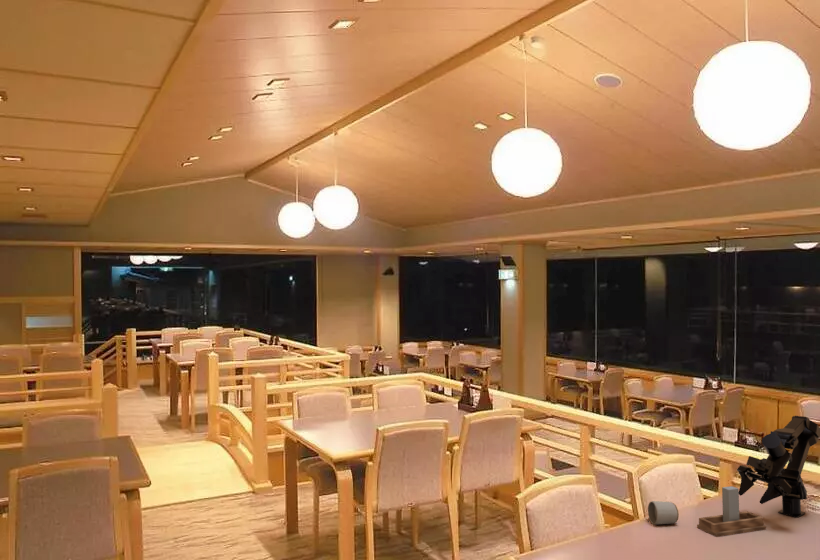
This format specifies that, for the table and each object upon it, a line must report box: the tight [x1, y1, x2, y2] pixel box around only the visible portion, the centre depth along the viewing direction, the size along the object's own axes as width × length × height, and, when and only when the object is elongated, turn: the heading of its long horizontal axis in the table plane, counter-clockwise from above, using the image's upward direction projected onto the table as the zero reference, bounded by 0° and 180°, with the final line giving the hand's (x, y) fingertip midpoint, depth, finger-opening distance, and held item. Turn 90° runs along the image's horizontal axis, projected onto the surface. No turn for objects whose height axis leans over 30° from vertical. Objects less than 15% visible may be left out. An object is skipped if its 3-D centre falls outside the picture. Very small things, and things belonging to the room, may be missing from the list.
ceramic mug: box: [647, 500, 679, 526], centre depth 227 cm, size 11×8×8 cm
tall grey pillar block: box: [721, 486, 740, 522], centre depth 219 cm, size 4×3×12 cm
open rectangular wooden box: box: [696, 510, 767, 538], centre depth 219 cm, size 20×9×4 cm, turn 106°
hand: (749, 498), depth 222 cm, fingers open, 9 cm apart
